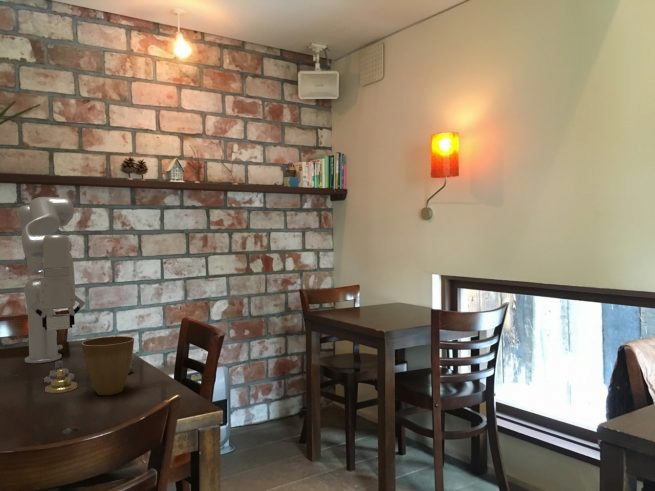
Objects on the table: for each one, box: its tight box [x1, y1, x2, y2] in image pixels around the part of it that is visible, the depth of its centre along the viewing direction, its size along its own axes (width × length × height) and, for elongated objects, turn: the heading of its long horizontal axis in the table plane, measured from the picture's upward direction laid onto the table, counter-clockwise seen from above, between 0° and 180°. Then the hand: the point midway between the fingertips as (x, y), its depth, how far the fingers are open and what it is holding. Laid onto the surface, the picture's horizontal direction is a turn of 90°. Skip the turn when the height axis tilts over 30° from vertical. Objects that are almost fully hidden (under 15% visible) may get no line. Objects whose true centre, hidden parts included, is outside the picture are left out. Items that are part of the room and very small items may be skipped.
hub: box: [44, 368, 78, 394], centre depth 166 cm, size 9×9×6 cm
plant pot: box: [81, 335, 135, 396], centre depth 162 cm, size 15×15×16 cm
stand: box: [43, 359, 75, 384], centre depth 177 cm, size 9×9×6 cm
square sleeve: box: [46, 313, 71, 331], centre depth 171 cm, size 6×6×4 cm
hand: (58, 328), depth 171 cm, fingers closed on square sleeve, 6 cm apart
